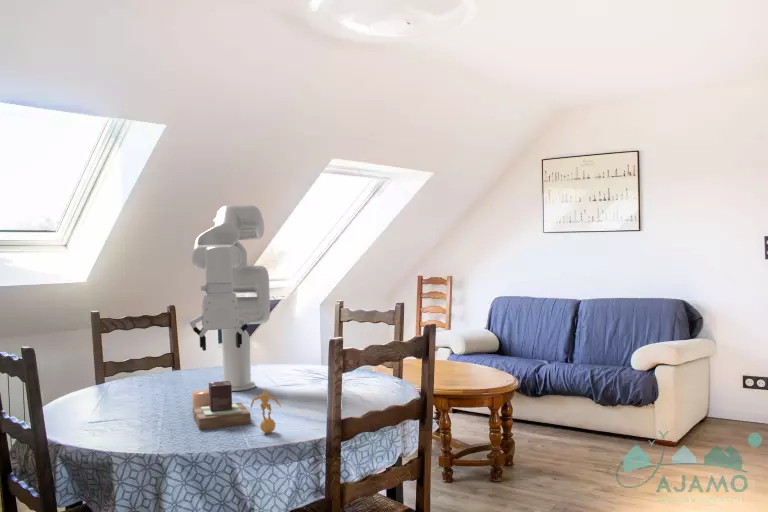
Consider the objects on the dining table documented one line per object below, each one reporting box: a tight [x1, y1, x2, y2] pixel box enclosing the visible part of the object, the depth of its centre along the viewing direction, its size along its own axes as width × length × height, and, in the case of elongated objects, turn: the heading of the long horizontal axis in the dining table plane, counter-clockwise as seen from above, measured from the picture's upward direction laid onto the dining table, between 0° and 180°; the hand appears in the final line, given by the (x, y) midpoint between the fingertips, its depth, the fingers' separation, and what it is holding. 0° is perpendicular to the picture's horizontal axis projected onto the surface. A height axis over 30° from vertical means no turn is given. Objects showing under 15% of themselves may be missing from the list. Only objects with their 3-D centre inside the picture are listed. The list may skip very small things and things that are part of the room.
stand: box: [192, 401, 252, 431], centre depth 198 cm, size 14×14×3 cm
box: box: [208, 380, 233, 412], centre depth 198 cm, size 6×6×7 cm
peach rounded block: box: [191, 388, 209, 411], centre depth 209 cm, size 7×7×6 cm
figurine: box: [250, 389, 282, 434], centre depth 184 cm, size 8×6×12 cm
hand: (221, 348), depth 199 cm, fingers open, 9 cm apart
